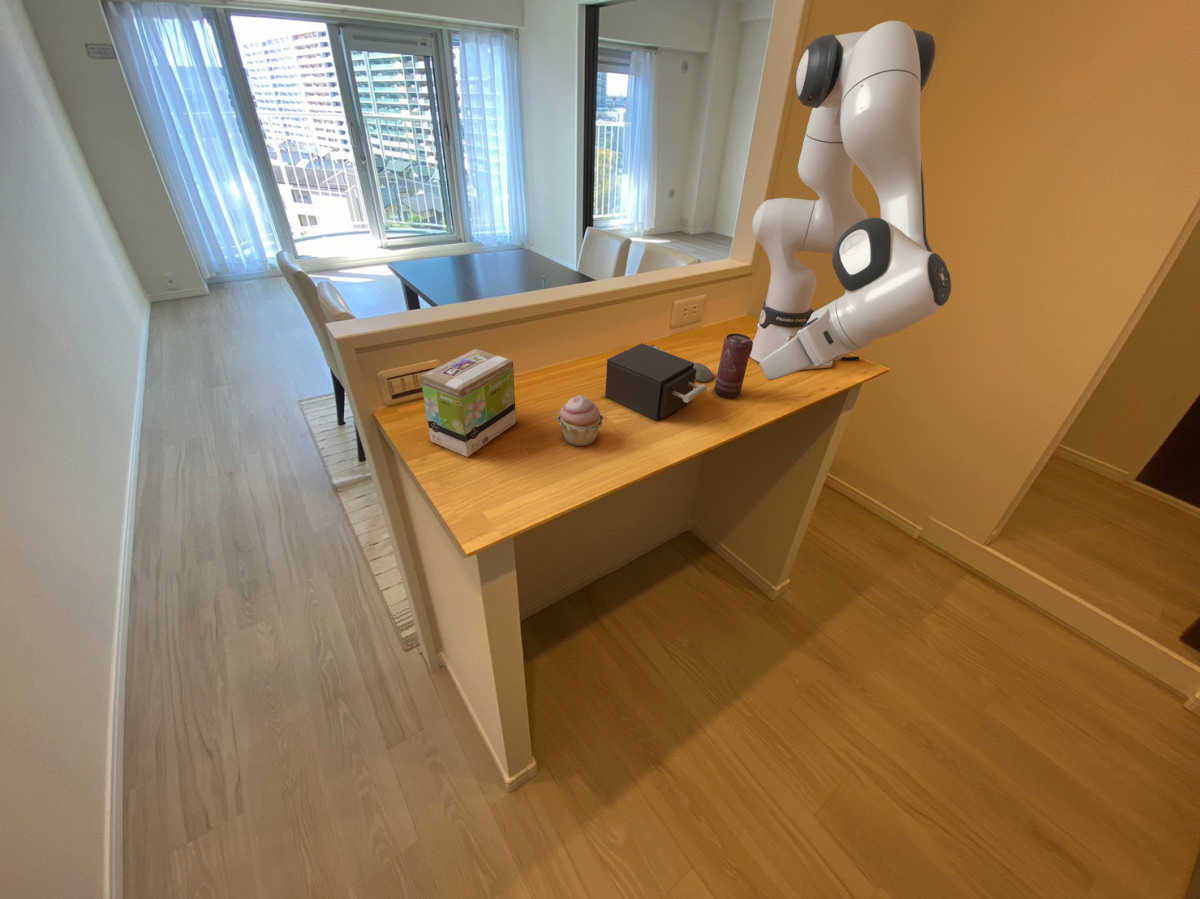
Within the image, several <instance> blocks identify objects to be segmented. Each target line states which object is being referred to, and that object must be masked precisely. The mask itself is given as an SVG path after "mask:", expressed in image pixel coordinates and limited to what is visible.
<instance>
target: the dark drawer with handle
mask: <svg viewBox="0 0 1200 899" xmlns="http://www.w3.org/2000/svg"><path fill="white" fill-rule="evenodd" d="M696 371H697V369H695V368H691V369H689V370H687V371H684V372H682V373H681V374H679V375H677V376H675V377H674V378H672V379H670V380H668V381H667V382H665V383H663V385H662V393H661V400H660V408H659V416H658V417H660V419H664V418H666V417H667V416H669V415H671V414H673V413H674V412H676V411H677V410H679V409H680V408H681V407H683V406H684V405H686V404H688V403H689V402H691V401H692V400H694V399H696V398H697V397H699V396H700V395H701V394H703V393H705V392H706V391H707V385H706V384H700V385H699V384H696V382H695V381H696V379H695V377H696Z"/></svg>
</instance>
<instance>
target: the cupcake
mask: <svg viewBox="0 0 1200 899" xmlns="http://www.w3.org/2000/svg"><path fill="white" fill-rule="evenodd" d="M558 414H559V416H557V417H556V418H555V419H556V421H558V423H559V426H560V427H561V431H562V433H563V437H564V439H565V441H566V442H567V443H568V444H570V445H571V446H576V447H585V446H589V445H591V444H593V443H594V442H595V441H596V439H597V436H598V433H599V429H600V428H601V426H602V424H603V420H604V416H603V415H601V410H600V409H599V407H598V405H597V404H596V403H595V402H594V401H593V400H591V399H590V398H589V397H587V396H586V395H582V394H578V395H577V396H574V397H571V398H569V400H568V401H567V402H566V403H565V404H563V405H562V406H561V408H560V411H558Z"/></svg>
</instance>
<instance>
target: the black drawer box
mask: <svg viewBox="0 0 1200 899" xmlns="http://www.w3.org/2000/svg"><path fill="white" fill-rule="evenodd" d="M661 350H662V349H661ZM661 350H658V349H656V348H653V347H650V345H647V344H645V343H639V344H637V345H635V346H632V347H631V348H629V349H626V350H624V351H621V352H620V353H617V354H615V355H613V356H611V357H609V358H607V359H606V373H605V374H606V376H605V393H604V394H605V395H604V398H606V399H608V400H610V401H612V402H615V403H616V404H619V405H621V406H623V407H625V408H627V409H629V410H631V411H633V412H636V413H638V414H640V415H642V416H644V417H646V418H648V419H650V420H653V421H655V422H658V421H659V420H660V419H661V418H660V417H658V416H659V408H660V400H661V393H662V385H663V383H665V382H667V381H668V380H670V379H672V378H674V377H675V376H677V375H679V374H681V373H682V372H684V371H687V370H689V369H691V368H693V367H694V363H695V362H693V361H690V360H687V359H685V358H682V357H679V356H677V355H674V354H672V353H670V352H668V353H666V352H667V351H666V352H664V351H665V350H663V351H661ZM669 353H670V354H669Z"/></svg>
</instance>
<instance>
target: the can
mask: <svg viewBox="0 0 1200 899" xmlns="http://www.w3.org/2000/svg"><path fill="white" fill-rule="evenodd" d="M752 347H753V339H752V338H750V336H748V335H746V334H741V333H729V334H727V335H726V337H725V338H724V340H723V344H722V349H721V354H720V358H719V363H718V368H717V373H716V378H715V383H714V393H715V394H716V395H717V396H718V397H720V398H723V399H727V400H729V399H730V400H731V399H732V400H733V399H737V398H738V397H739V396H740V395H741V393H742V388H743V382H744V379H745V375H746V371H747V367H748V362H749V359H750V354H751V351H752Z"/></svg>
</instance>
